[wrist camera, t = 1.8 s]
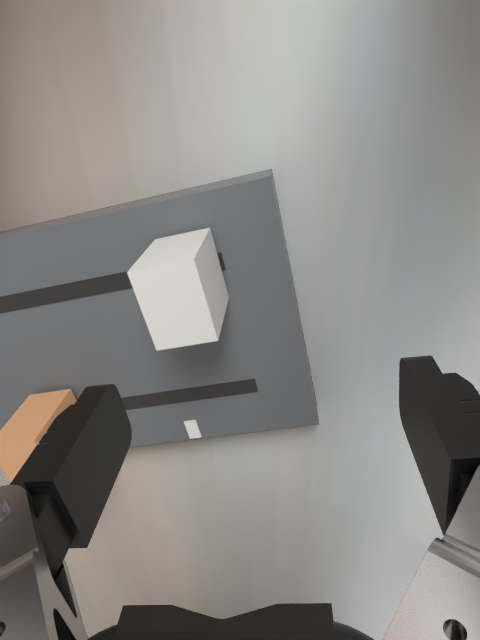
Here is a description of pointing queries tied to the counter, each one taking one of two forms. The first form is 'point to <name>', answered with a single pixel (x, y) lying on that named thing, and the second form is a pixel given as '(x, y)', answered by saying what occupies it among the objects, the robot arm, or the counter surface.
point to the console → (130, 326)
